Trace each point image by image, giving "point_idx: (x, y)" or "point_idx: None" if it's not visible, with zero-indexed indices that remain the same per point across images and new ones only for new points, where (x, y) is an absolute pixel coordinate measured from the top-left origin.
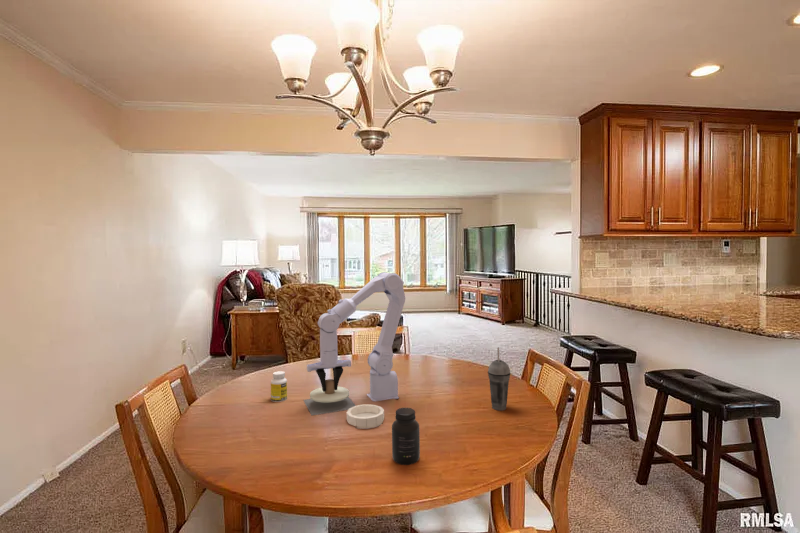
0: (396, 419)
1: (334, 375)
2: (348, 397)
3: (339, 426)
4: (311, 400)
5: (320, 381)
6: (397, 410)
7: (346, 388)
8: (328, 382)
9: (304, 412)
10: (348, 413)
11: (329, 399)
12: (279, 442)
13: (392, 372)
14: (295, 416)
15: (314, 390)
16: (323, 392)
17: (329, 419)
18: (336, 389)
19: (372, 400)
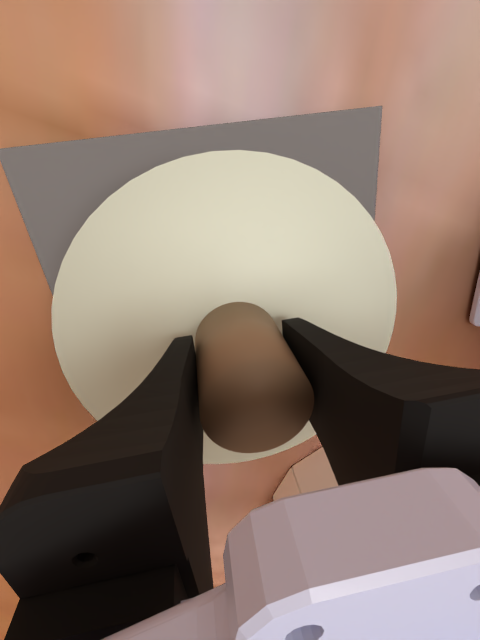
0: None
1: (342, 426)
2: (371, 215)
3: (238, 521)
4: (81, 193)
5: (145, 380)
6: None
7: (393, 273)
8: (238, 449)
9: (60, 369)
10: None
11: (219, 462)
12: (9, 602)
13: None
14: (13, 413)
15: (88, 249)
16: (182, 328)
17: (204, 465)
18: None
19: (476, 311)
